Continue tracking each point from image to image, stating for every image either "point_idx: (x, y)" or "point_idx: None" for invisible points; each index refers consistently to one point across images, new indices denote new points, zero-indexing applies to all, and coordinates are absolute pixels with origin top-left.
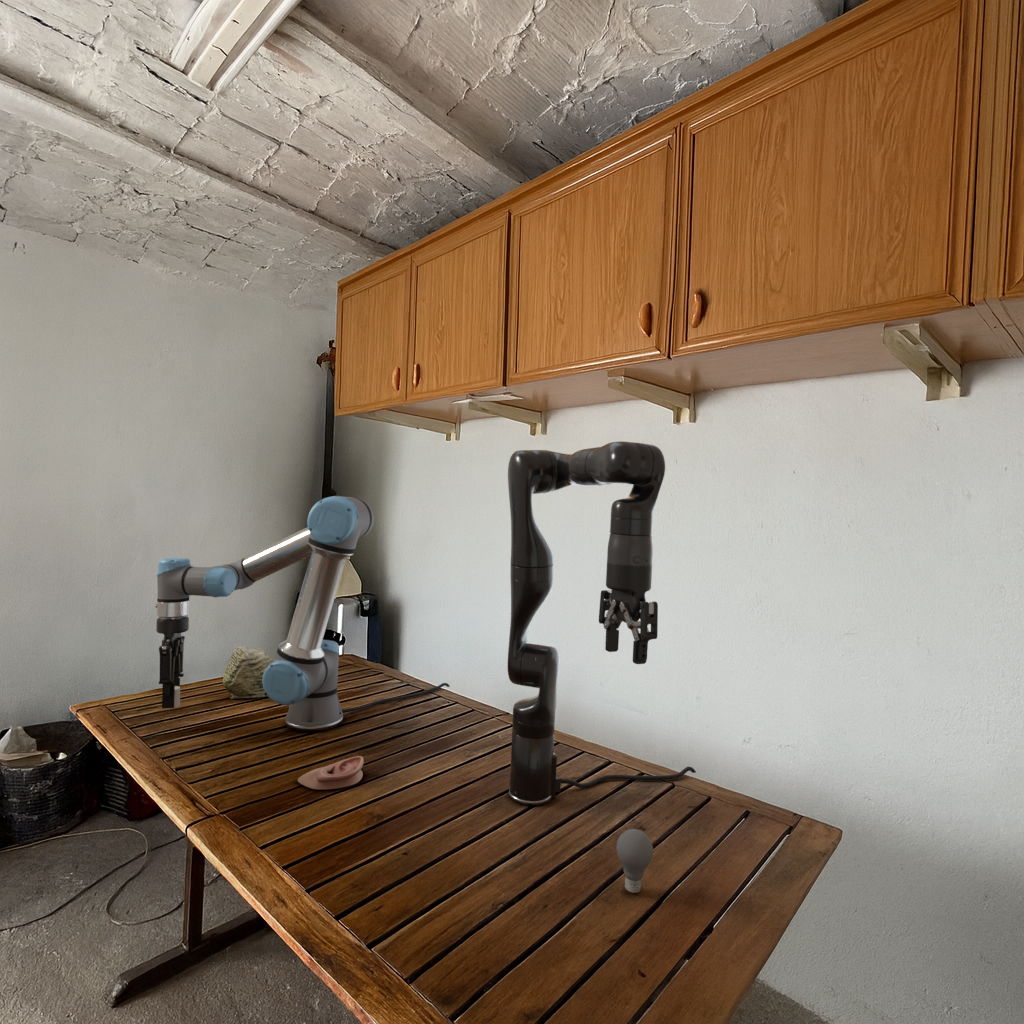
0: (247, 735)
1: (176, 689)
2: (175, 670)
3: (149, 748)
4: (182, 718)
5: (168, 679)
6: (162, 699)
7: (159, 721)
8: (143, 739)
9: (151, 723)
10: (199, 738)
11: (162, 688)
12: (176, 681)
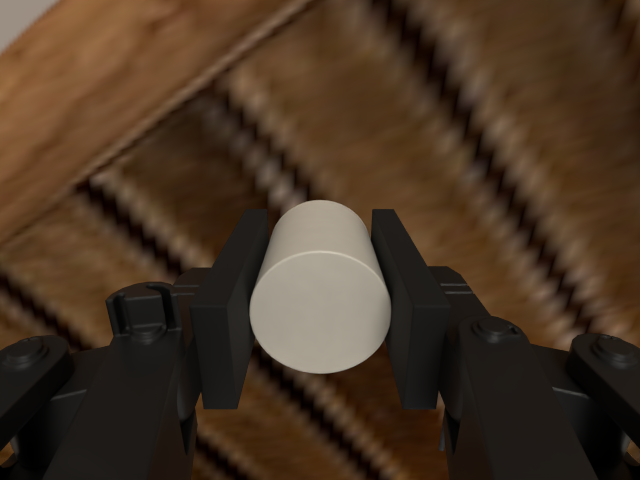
0: (234, 466)
1: (276, 358)
2: (459, 455)
3: (73, 179)
4: (475, 209)
5: (4, 470)
6: (231, 235)
7: (452, 105)
8: (182, 111)
9: (426, 70)
10: None
11: (207, 276)
12: (398, 362)
